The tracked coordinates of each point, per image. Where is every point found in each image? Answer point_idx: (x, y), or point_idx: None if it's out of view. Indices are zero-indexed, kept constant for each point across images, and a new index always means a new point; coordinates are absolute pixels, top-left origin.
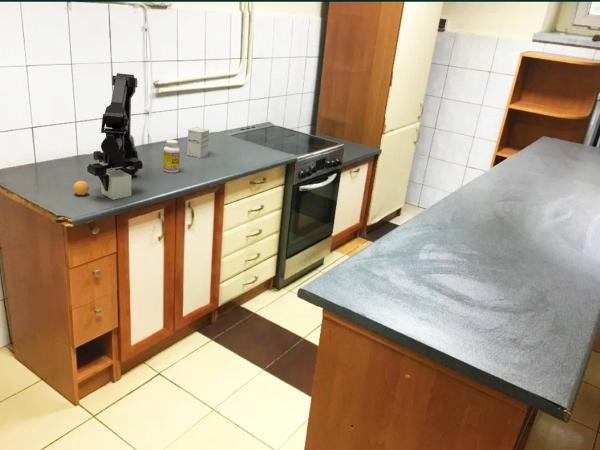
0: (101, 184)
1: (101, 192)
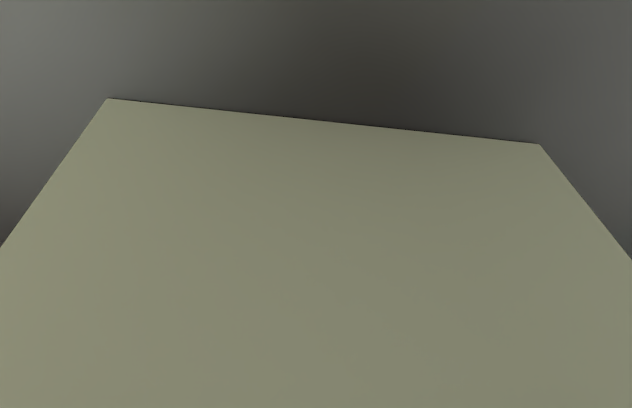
0: (23, 247)
1: (102, 116)
